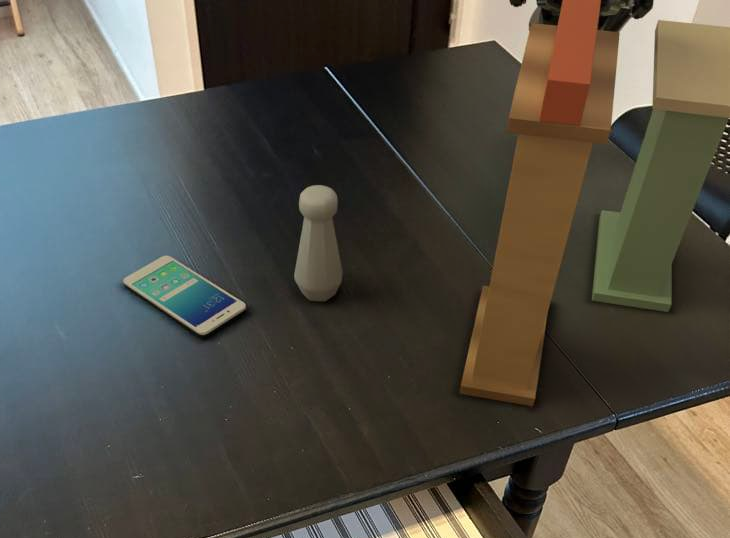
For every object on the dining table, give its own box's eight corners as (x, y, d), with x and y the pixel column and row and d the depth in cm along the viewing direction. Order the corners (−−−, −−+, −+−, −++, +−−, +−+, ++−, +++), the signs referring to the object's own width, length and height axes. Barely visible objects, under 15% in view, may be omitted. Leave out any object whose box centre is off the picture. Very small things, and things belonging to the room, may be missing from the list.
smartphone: (166, 253, 103) (249, 305, 97) (167, 259, 104) (249, 310, 98) (119, 280, 100) (201, 335, 94) (121, 286, 101) (202, 341, 95)
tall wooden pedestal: (481, 293, 100) (531, 22, 76) (547, 303, 99) (619, 32, 75) (459, 393, 90) (508, 117, 66) (533, 406, 89) (610, 130, 64)
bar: (565, -18, 81) (573, -56, 79) (598, -14, 81) (607, -53, 78) (538, 121, 65) (547, 79, 63) (579, 126, 65) (590, 84, 62)
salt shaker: (288, 300, 99) (284, 201, 89) (303, 273, 103) (300, 173, 92) (334, 310, 98) (336, 210, 88) (348, 281, 101) (351, 182, 91)
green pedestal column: (599, 217, 110) (658, 19, 90) (668, 227, 108) (743, 28, 89) (591, 300, 99) (656, 96, 80) (668, 312, 98) (752, 108, 79)
